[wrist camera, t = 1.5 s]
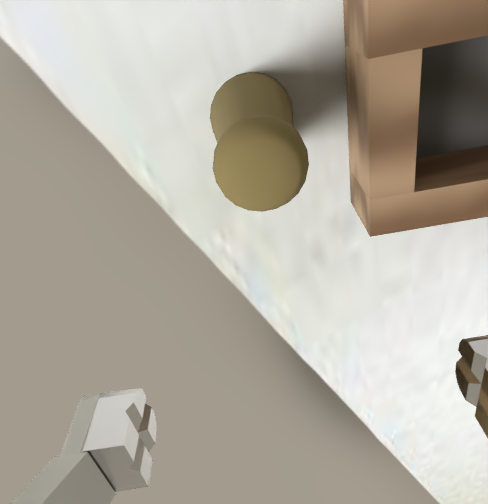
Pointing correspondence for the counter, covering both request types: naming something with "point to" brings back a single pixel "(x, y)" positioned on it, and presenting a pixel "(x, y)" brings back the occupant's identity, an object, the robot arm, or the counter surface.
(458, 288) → the counter surface
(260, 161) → the cork
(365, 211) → the well block
